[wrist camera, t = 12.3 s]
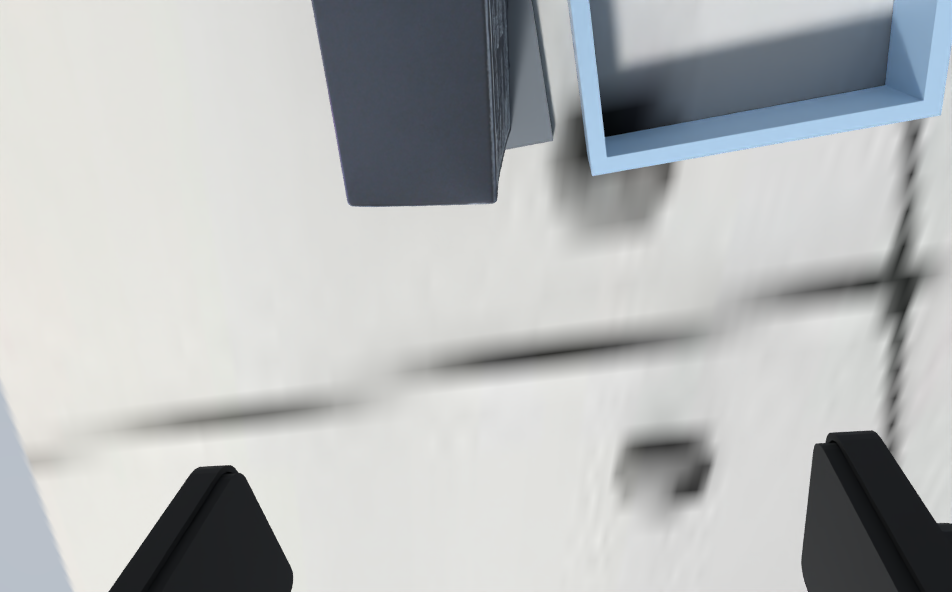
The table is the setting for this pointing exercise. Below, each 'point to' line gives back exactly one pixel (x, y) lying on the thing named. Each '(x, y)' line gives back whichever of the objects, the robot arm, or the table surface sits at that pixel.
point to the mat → (526, 79)
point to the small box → (417, 98)
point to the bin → (901, 99)
